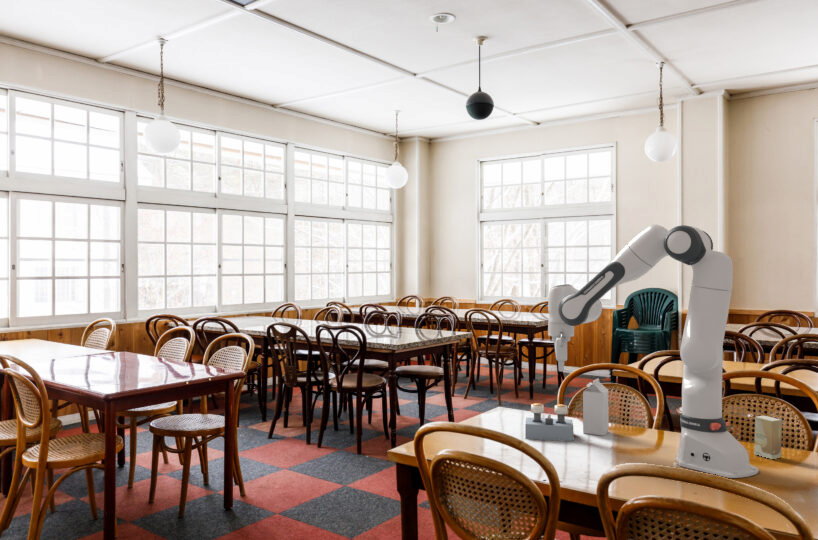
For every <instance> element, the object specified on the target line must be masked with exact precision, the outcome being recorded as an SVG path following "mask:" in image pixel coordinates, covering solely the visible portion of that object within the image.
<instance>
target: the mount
mask: <svg viewBox="0 0 818 540" xmlns="http://www.w3.org/2000/svg"><path fill="white" fill-rule="evenodd" d="M545 418H546V417H544V418H543V417H541V423H540V422H534V417H526V418H525V424H524V425H525V428H524V429H525V433H524V434H525V435H524V436H525V439H526V440H527V439H528V440H529V439H530V440H545V441H546V440H547V441H563V442H574V422H573V419H565V424H559V423H558V418H552V419H553V425H546V424H545Z"/></svg>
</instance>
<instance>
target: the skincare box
mask: <svg viewBox="0 0 818 540" xmlns="http://www.w3.org/2000/svg"><path fill="white" fill-rule="evenodd" d="M754 420H755V422H754V455H755V456H757V455H759V457H761V456H762V458H764V457H766V458H765V459H767V458H770V459H775V458H779V457H781V458H782V435H783V433H782V431H783V427H782V426H783V420H782V419H780V418H775V417H772V416H767V415H758V416H755V419H754ZM770 459H769V460H770ZM775 460H776V459H775Z"/></svg>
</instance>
